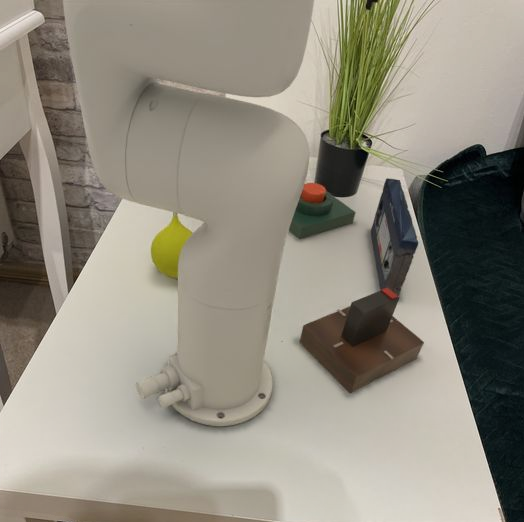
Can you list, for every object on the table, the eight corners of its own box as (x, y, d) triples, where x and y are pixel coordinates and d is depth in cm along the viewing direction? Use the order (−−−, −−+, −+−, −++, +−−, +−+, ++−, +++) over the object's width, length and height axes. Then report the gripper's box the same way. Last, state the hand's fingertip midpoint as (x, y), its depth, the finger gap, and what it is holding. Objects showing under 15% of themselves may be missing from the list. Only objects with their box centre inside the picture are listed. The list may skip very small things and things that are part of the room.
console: (350, 393, 63) (357, 376, 61) (298, 341, 68) (302, 323, 66) (417, 359, 68) (425, 341, 66) (364, 313, 74) (370, 296, 72)
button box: (299, 239, 85) (303, 218, 83) (264, 210, 91) (266, 189, 88) (352, 223, 91) (358, 202, 88) (316, 196, 96) (320, 176, 94)
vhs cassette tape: (369, 231, 90) (386, 177, 83) (386, 233, 90) (404, 179, 83) (377, 297, 77) (398, 240, 70) (397, 300, 77) (420, 243, 70)
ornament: (178, 252, 79) (178, 191, 72) (211, 274, 76) (215, 213, 69) (141, 271, 75) (137, 208, 68) (175, 294, 72) (175, 232, 65)
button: (310, 206, 86) (312, 196, 85) (295, 194, 88) (297, 185, 87) (328, 201, 88) (331, 191, 87) (313, 190, 90) (315, 180, 89)
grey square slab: (352, 346, 64) (364, 311, 60) (340, 335, 65) (351, 300, 61) (386, 330, 67) (400, 296, 63) (374, 320, 68) (387, 286, 64)
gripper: (285, -190, 57) (266, -6, 69) (441, -165, 56) (394, 19, 68) (298, -186, 63) (278, -16, 75) (442, -163, 61) (398, 7, 73)
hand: (333, 1), depth 71 cm, fingers open, 9 cm apart
